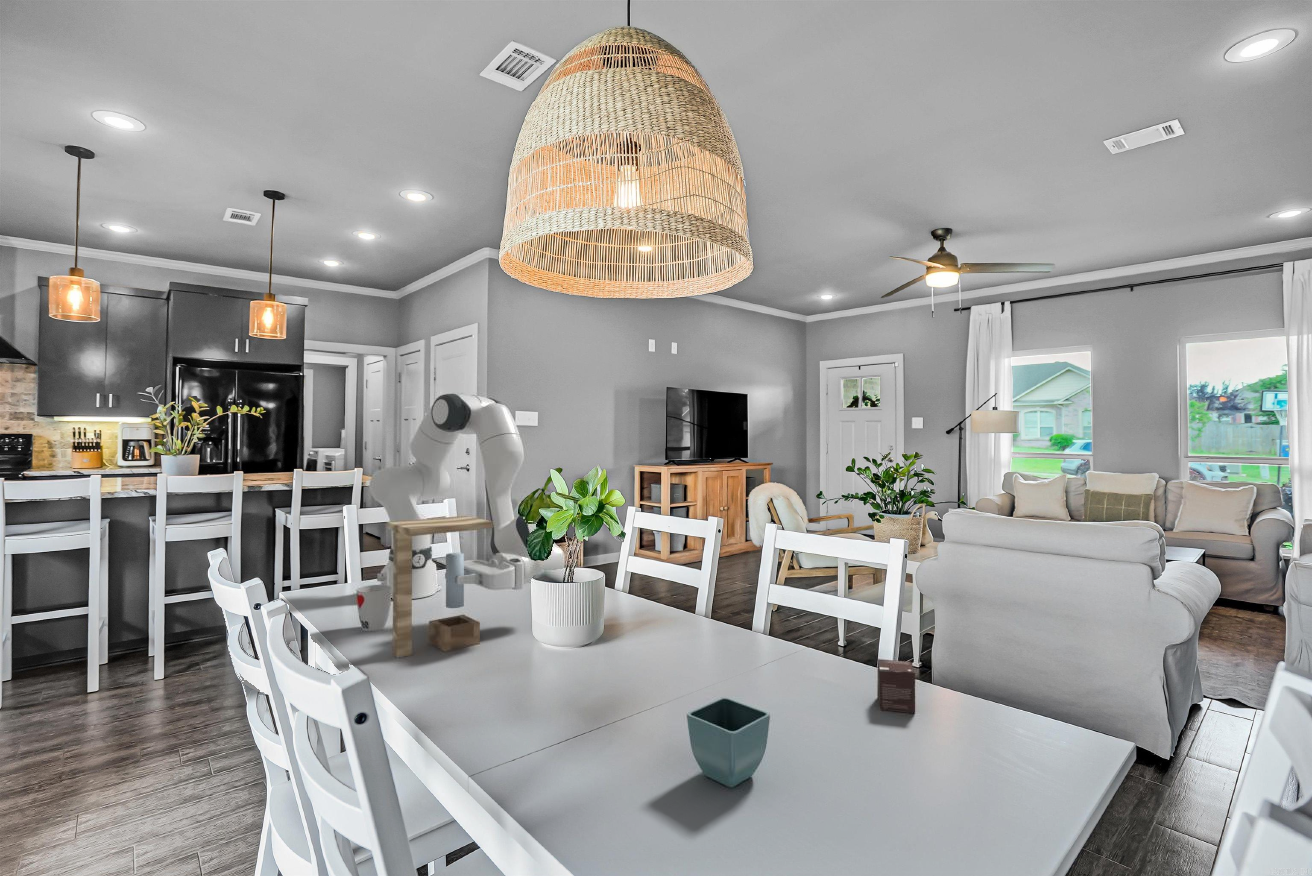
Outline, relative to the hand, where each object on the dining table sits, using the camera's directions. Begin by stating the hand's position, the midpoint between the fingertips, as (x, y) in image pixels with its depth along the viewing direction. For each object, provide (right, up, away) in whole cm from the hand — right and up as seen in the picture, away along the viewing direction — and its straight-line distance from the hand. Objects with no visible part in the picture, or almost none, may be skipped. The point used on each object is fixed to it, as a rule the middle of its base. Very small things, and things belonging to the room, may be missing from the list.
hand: (451, 578), depth 148 cm
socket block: (0, -15, +1) cm, 15 cm away
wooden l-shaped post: (-2, -15, -2) cm, 15 cm away
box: (+91, -16, -32) cm, 98 cm away
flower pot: (+58, -16, -57) cm, 82 cm away
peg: (+1, -7, +1) cm, 7 cm away
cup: (-23, -15, +12) cm, 30 cm away
